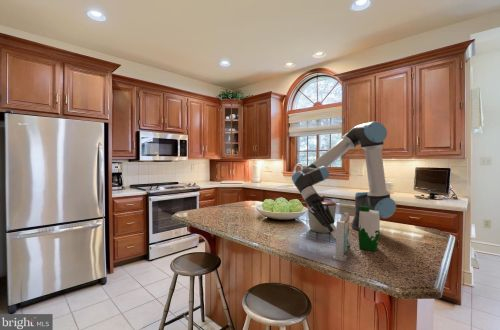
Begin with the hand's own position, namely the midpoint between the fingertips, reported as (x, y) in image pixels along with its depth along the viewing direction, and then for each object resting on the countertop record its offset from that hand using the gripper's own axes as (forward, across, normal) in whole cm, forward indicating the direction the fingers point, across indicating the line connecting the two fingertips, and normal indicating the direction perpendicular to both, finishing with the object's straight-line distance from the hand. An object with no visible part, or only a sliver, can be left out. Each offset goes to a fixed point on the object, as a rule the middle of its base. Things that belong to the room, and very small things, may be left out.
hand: (337, 237), depth 119 cm
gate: (+5, -1, -2) cm, 5 cm away
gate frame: (+6, -1, -3) cm, 7 cm away
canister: (-13, -20, -23) cm, 33 cm away
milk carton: (+9, -15, 0) cm, 18 cm away
